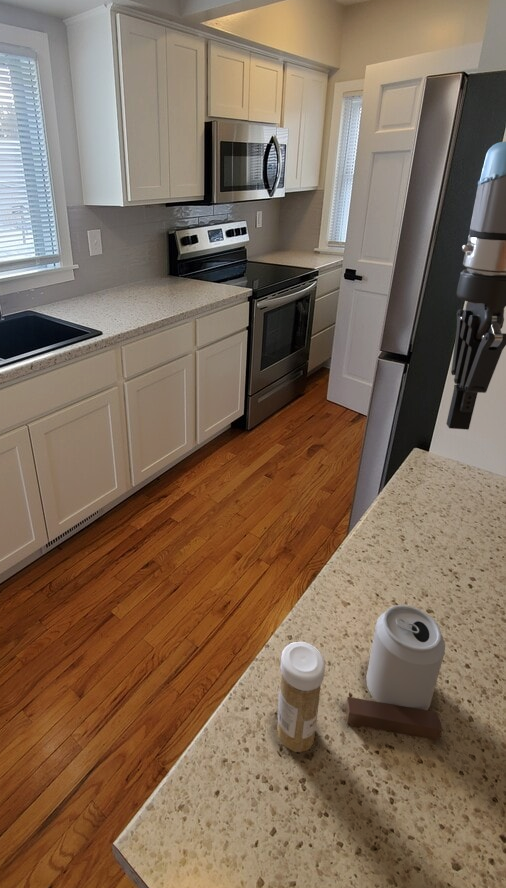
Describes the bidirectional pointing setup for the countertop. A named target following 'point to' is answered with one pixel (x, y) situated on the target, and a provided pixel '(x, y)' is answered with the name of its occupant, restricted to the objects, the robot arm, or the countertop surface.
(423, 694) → the can
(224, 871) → the countertop surface
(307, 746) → the sprinkles bottle
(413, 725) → the bar
